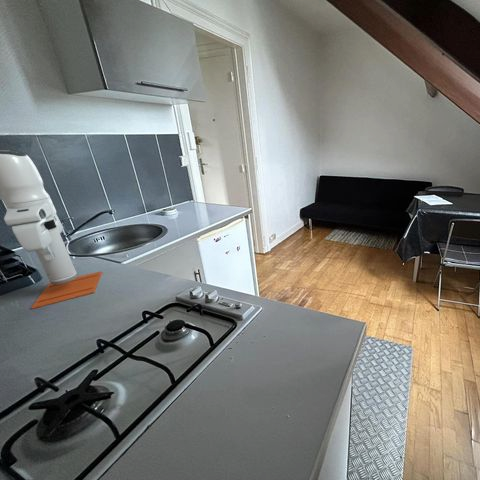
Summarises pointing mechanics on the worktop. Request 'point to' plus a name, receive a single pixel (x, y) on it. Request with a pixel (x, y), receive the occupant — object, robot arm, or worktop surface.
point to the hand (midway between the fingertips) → (54, 254)
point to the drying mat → (68, 290)
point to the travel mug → (57, 258)
